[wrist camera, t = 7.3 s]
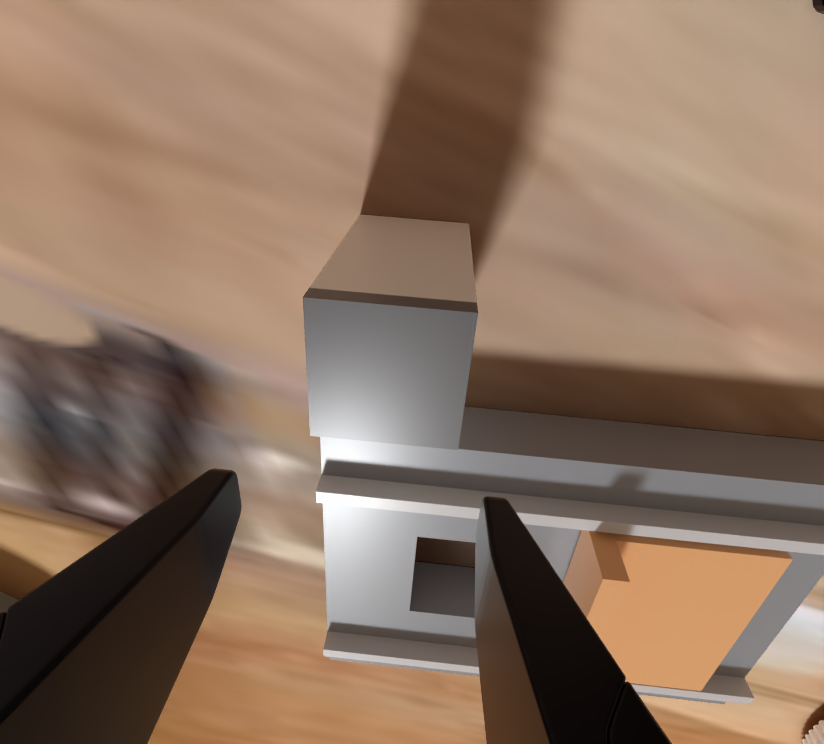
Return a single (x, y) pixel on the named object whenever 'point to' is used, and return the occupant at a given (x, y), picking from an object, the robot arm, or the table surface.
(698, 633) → the shutter
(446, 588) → the socket plate
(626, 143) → the table surface
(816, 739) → the plastic lid
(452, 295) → the plug
